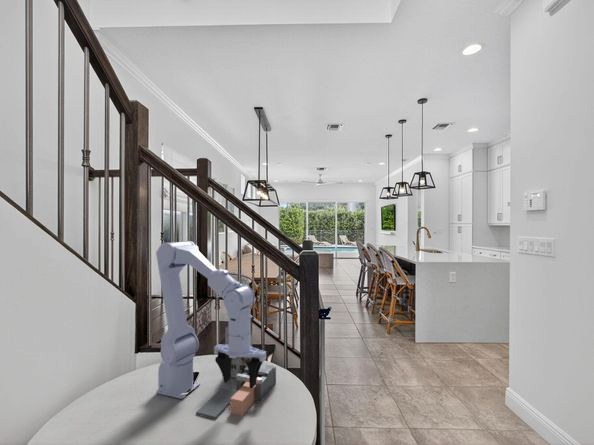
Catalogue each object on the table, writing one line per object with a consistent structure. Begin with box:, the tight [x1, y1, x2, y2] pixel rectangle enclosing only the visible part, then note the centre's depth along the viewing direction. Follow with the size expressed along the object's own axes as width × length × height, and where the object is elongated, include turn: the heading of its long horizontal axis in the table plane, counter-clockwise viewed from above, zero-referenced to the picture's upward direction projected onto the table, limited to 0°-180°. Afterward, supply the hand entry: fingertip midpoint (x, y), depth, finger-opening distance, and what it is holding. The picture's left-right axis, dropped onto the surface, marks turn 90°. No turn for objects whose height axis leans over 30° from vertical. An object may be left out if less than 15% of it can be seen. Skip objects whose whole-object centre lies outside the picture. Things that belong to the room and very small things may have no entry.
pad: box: [195, 387, 236, 420], centre depth 83 cm, size 6×12×1 cm, turn 161°
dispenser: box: [235, 363, 277, 403], centre depth 89 cm, size 8×11×6 cm
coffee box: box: [224, 319, 253, 379], centre depth 100 cm, size 9×6×16 cm
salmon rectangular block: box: [230, 382, 256, 416], centre depth 83 cm, size 4×11×4 cm, turn 161°
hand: (239, 383), depth 80 cm, fingers open, 7 cm apart
